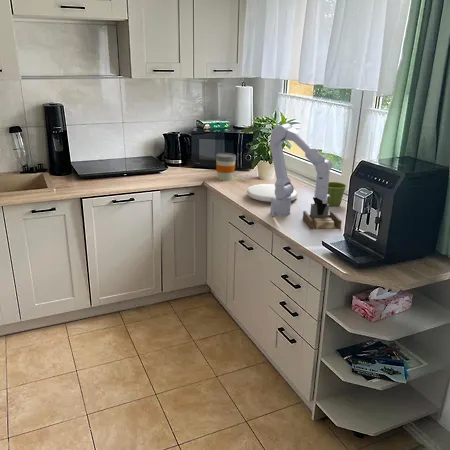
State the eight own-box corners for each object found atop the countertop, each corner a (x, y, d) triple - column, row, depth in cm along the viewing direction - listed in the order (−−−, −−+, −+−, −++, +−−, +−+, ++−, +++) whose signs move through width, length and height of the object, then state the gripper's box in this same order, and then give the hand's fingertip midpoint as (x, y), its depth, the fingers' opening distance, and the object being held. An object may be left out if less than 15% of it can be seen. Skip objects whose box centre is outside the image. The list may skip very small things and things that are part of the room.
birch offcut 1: (314, 226, 214) (315, 220, 213) (313, 224, 216) (313, 218, 214) (331, 225, 214) (332, 219, 213) (330, 224, 216) (330, 218, 215)
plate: (283, 181, 271) (307, 194, 248) (281, 192, 273) (305, 206, 250) (240, 180, 260) (261, 193, 237) (238, 191, 262) (259, 206, 239)
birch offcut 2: (316, 228, 211) (316, 222, 210) (315, 226, 213) (315, 220, 212) (333, 228, 212) (334, 222, 211) (332, 226, 213) (332, 220, 212)
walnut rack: (310, 231, 210) (311, 221, 208) (302, 220, 223) (303, 210, 221) (340, 231, 211) (341, 220, 210) (331, 220, 224) (332, 210, 223)
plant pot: (327, 200, 254) (330, 180, 250) (348, 205, 247) (350, 184, 243) (317, 205, 245) (319, 184, 241) (337, 210, 238) (340, 189, 234)
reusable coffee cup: (212, 180, 287) (213, 156, 282) (218, 175, 299) (219, 152, 293) (232, 182, 284) (232, 157, 279) (237, 177, 295) (238, 153, 290)
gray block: (310, 221, 220) (312, 205, 217) (309, 219, 222) (311, 203, 219) (327, 221, 220) (329, 204, 218) (326, 219, 222) (327, 203, 219)
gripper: (335, 190, 209) (332, 218, 213) (325, 181, 222) (322, 208, 227) (319, 190, 208) (317, 218, 213) (311, 181, 221) (308, 208, 226)
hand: (319, 213), depth 220 cm, fingers open, 3 cm apart
